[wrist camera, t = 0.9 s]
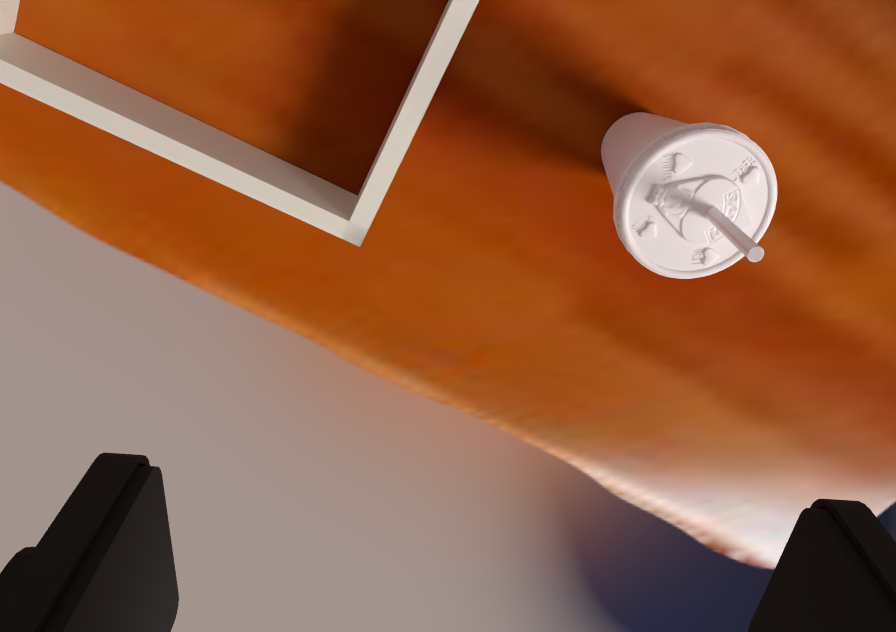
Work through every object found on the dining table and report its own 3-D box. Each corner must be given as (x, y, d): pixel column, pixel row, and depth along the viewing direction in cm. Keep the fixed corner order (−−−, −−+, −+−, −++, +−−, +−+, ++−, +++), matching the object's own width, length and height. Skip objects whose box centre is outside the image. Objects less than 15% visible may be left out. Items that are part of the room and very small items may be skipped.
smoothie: (664, 219, 38) (776, 349, 25) (557, 187, 37) (618, 306, 24) (718, 105, 35) (874, 189, 22) (603, 67, 34) (699, 133, 21)
